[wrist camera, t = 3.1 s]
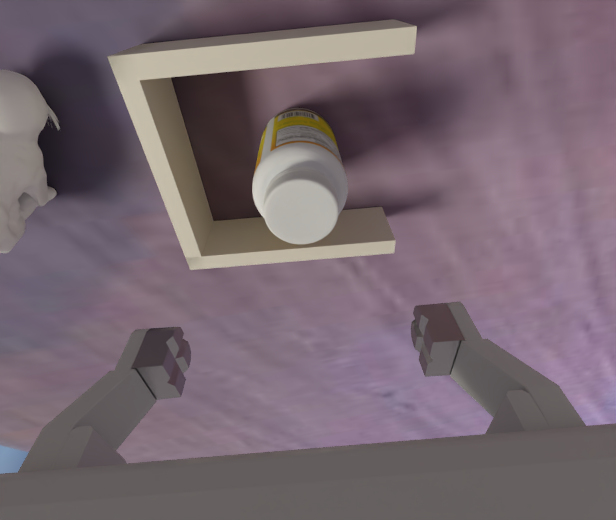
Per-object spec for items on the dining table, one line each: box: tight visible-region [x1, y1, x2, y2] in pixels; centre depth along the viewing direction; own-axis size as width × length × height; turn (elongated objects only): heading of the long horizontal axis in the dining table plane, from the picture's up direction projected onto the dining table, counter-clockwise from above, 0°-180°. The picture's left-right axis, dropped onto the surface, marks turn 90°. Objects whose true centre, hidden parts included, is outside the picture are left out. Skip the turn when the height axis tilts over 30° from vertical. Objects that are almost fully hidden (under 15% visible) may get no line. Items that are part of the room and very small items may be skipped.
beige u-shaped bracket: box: [108, 19, 417, 270], centre depth 24 cm, size 16×14×5 cm
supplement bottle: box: [252, 108, 348, 244], centre depth 22 cm, size 6×6×10 cm
